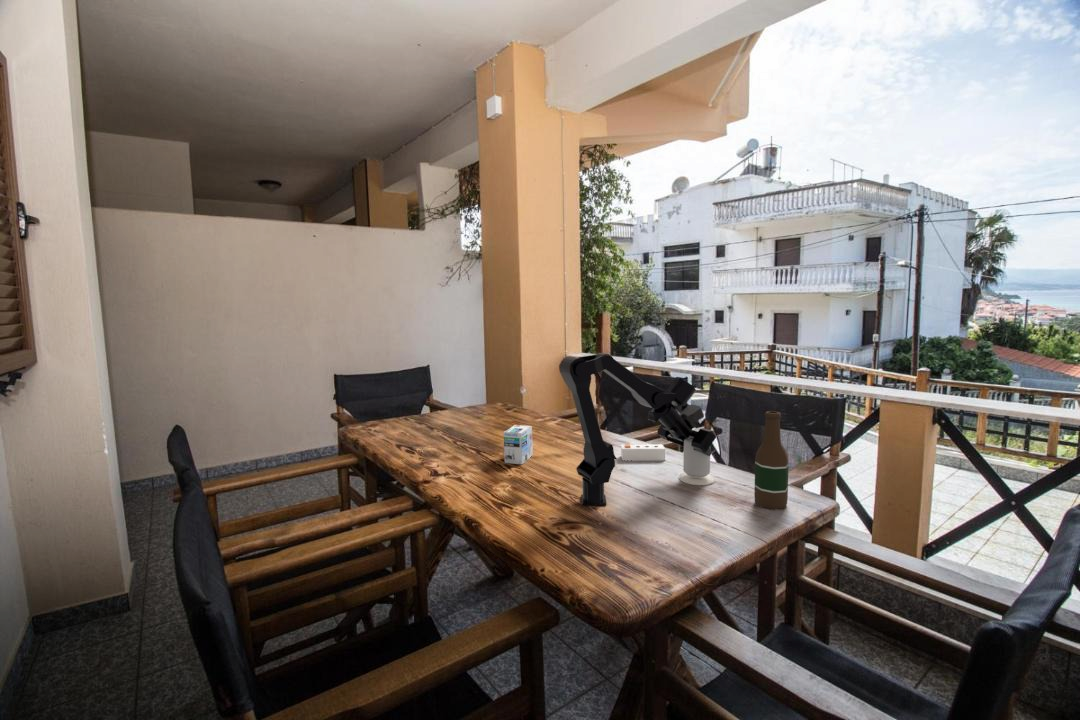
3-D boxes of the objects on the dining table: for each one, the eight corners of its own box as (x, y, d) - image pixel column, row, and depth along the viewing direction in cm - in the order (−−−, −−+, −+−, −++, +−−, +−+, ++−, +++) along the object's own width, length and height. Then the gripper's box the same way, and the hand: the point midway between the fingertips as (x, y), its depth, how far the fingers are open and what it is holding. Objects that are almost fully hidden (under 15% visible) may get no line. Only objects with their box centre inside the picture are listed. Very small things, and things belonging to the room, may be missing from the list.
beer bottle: (784, 499, 127) (786, 409, 124) (790, 511, 119) (793, 416, 117) (752, 497, 129) (753, 408, 126) (756, 509, 121) (758, 415, 119)
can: (711, 471, 144) (712, 432, 143) (708, 479, 138) (709, 438, 136) (685, 468, 148) (685, 429, 146) (681, 476, 141) (681, 436, 140)
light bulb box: (522, 465, 160) (521, 433, 159) (503, 463, 163) (502, 432, 161) (533, 455, 171) (532, 425, 169) (515, 454, 173) (514, 424, 172)
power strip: (665, 460, 161) (665, 446, 160) (622, 460, 162) (622, 447, 161) (662, 455, 166) (662, 442, 165) (621, 456, 167) (620, 443, 166)
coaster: (719, 485, 138) (719, 483, 138) (683, 485, 138) (683, 483, 138) (709, 473, 148) (709, 471, 147) (676, 473, 148) (676, 471, 148)
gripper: (711, 402, 130) (740, 437, 136) (665, 392, 147) (692, 423, 153) (689, 434, 127) (719, 468, 133) (644, 420, 144) (672, 451, 150)
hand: (700, 451), depth 143 cm, fingers closed on can, 7 cm apart
